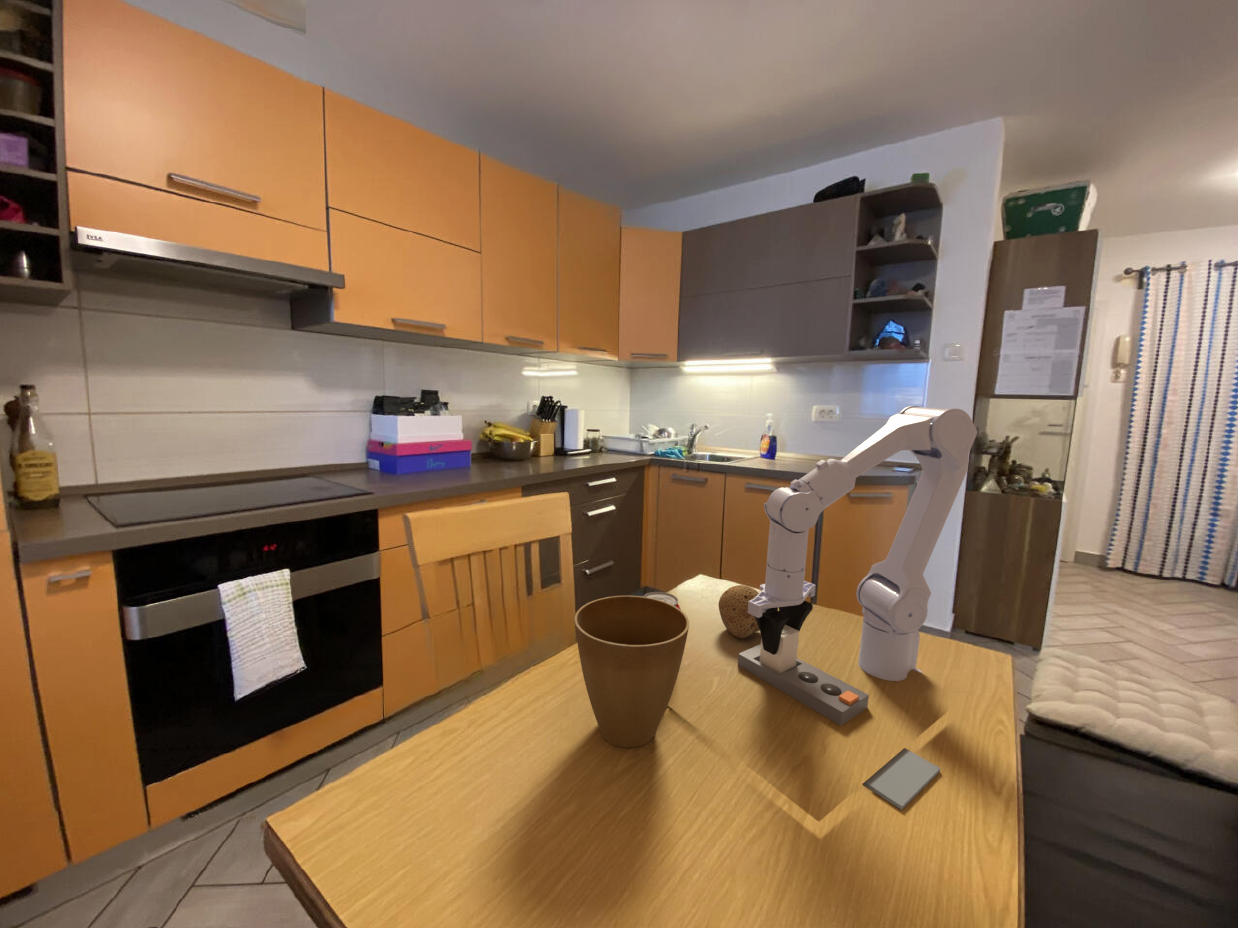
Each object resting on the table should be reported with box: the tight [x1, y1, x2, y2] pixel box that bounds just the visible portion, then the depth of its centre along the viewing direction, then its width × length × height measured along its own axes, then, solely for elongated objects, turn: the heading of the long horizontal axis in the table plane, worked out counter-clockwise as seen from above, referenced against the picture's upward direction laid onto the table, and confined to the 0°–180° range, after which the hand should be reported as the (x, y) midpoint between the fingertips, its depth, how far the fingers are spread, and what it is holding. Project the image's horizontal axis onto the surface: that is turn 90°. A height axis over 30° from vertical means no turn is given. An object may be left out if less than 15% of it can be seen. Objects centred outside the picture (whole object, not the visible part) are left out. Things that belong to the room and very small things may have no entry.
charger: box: [759, 625, 800, 674], centre depth 80 cm, size 4×4×6 cm
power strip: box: [737, 643, 870, 727], centre depth 78 cm, size 7×18×4 cm, turn 37°
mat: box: [862, 747, 941, 811], centre depth 63 cm, size 10×10×1 cm
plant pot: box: [574, 595, 690, 748], centre depth 67 cm, size 15×15×16 cm
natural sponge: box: [718, 584, 760, 639], centre depth 93 cm, size 9×9×10 cm
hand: (778, 647), depth 80 cm, fingers closed on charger, 4 cm apart
